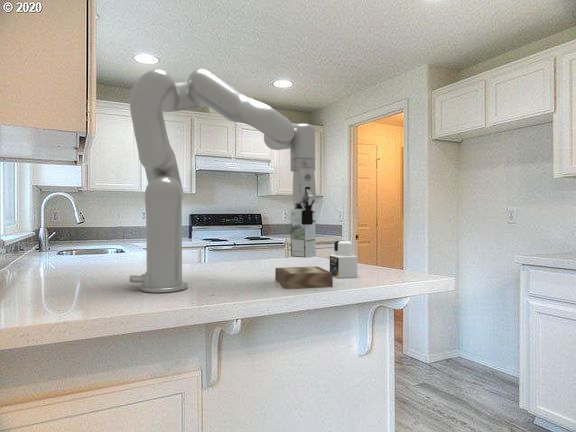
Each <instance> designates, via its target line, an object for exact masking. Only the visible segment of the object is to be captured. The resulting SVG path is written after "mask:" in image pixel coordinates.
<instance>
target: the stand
mask: <svg viewBox="0 0 576 432" xmlns="http://www.w3.org/2000/svg"><path fill="white" fill-rule="evenodd" d="M274 271H275V272H274V273H275V274H274V275H275V278H274V279H275V282H276V283H278V285H280V286H281V287H282V288H284V289H285V290H290V289H291V290H292V289H293V290H294V289H312V288H314V289H315V288H333V281H334V280H333V279H334V278H333V277H334V276H333V273H332V272H330V270H327V269H324V268H322V267H320V266H295V267H294V266H293V267H292V266H291V267H289V266H288V267H275V270H274Z"/></svg>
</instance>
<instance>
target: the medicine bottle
mask: <svg viewBox="0 0 576 432" xmlns="http://www.w3.org/2000/svg"><path fill="white" fill-rule="evenodd" d="M333 247H334V248H333V250H334V251H333V252H334V253H332V254H330V255H329V272H332V273H333V277H334V278H336V279H351V278H352V279H353V278H358V256H357V255H354V254H353V242H352V241H351V240H336V241H334V245H333Z"/></svg>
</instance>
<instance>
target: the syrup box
mask: <svg viewBox="0 0 576 432" xmlns="http://www.w3.org/2000/svg"><path fill="white" fill-rule="evenodd" d="M289 210H290V211H289V212H290V213H289V215H290V216H289V220H290V223H289V224H290V227H289V228H290V257H291V258H292V257H293V258H304V259H305V258H314V257H316V256H317V254H316V251H317V249H316V245H317V244H316V209H315V208H313V224H312V225H302V211H303V209H294V208H291V209H289Z"/></svg>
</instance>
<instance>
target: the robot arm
mask: <svg viewBox="0 0 576 432" xmlns="http://www.w3.org/2000/svg"><path fill="white" fill-rule="evenodd" d="M129 98H130V99H129V110H130V115H131V122H132V127H133V133H134V137H135V142H136V147H137V152H138V160H139V162H140V164H141V165H142V166H143V168H144V172H145V174H146V175H145V176H146V179H147V185H146V187H145V192H144V205H145V226H146V227H145V229H146V231H145V234H146V271H145V273H143V274H141V275H136V274H135V275H134V274H133V275H129V283H134V284H136V283H137V284H139V283H141V285H140V290H141V292H145V293H155V294H157V293H160V294H161V293H172V292H173V293H174V292H179V291H183V290H186V289H187V288H188V286H189V285H188V284H189V283H187V281H183V220H182V219H183V214H182V212H183V211H182V209H183V207H182V206H183V205H182V202H183V199H184V190H183V189H184V188H183V185H182V180H181V175H180V172H179V167H178V162H177V158H176V157H177V156H176V154H175V152H174V149H173V148H172V146H171V143H170V140H169V137H168V133H167V128H166V127H167V126H166V122H165V118H164V113H170V112H179V111H180V112H181V111H188V110H195V109H201V108H206V107H208V108H211V110H213V111H214V112H216V113H218V114H219V115H220V116H222V117H223V118H225V119H227V120H228V121H230V122H233V123H239V124H240V123H241V124H245V125H247V126H250V127H252V128H254V129H255V130H257V131H259V132H261V133H262V134H263V141H264V144H265V146H266V147H267V148H269V149H270V150H273V151H281V150H290V153H289V155H290V161H289V162H290V169H289V170H290V171H291V172H293V175H292V202H293V203H294V208H293V209H303V211H302V225H312V224H313V209H314V207H313V204H315V203H316V202H317V190H316V176H315V172H316V128H315V126H314V125H313V124H309V123H296V124H293V123H292V122H291V121H290V120H289V118H287V117H286V116H284V115H283V114H281V112H279V111H278V110H277V109H274V108H273V107H272V106H270V105H268V104H266V103H264V102H262V101H259V100H257V99H255V98H254V97H253V98H252V97H250V96H247V95H245V94H244V93H242V92H241V91H239V90H238V89H236V88H235V87H233V86H232V85H231V84H230V83H228V82H226V81H225V80H223V79H222V78H220V77H219V76H217V75H216V74H215V73H213V72H211V71H210V70H208V69H206V68H196V69H194V70H192V72H191V73H190V74H189V75H188V78H187V81H182V82H175V79H174V78H173V77H172V76H171V74H169V73H168V72H167V71H165V70H163V69H159V68H156V69H155V68H153V69H151V70H148V71H146V72H145V73H143V74H142V75H140V77H139V78H137V80H136V81H135V83H134V84H133V86H132V89H131V92H130V97H129Z"/></svg>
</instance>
